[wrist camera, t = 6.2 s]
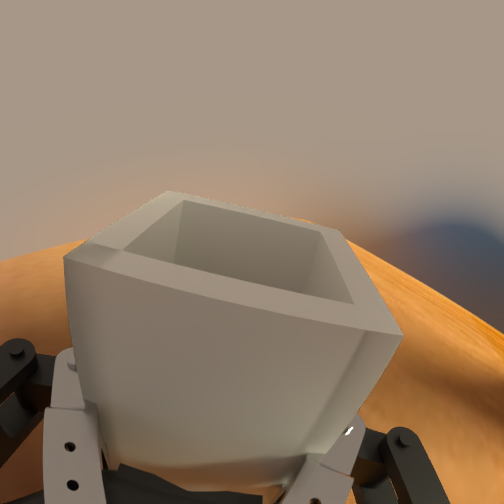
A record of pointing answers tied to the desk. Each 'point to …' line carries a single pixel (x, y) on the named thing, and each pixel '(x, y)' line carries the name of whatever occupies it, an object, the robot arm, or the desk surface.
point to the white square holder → (223, 341)
